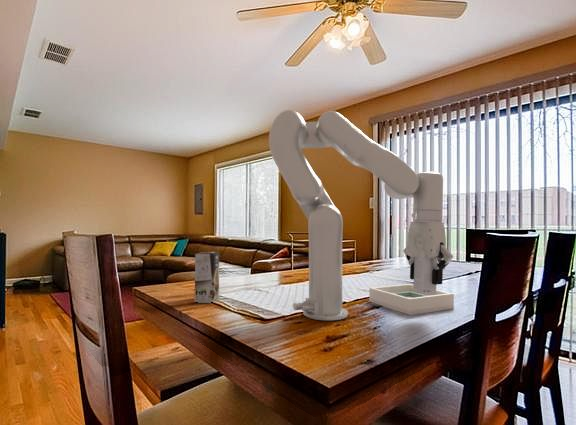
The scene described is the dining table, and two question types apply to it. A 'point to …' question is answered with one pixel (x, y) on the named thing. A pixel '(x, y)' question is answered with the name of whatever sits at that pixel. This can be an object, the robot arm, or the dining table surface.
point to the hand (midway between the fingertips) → (425, 281)
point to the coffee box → (206, 277)
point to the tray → (410, 299)
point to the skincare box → (423, 275)
